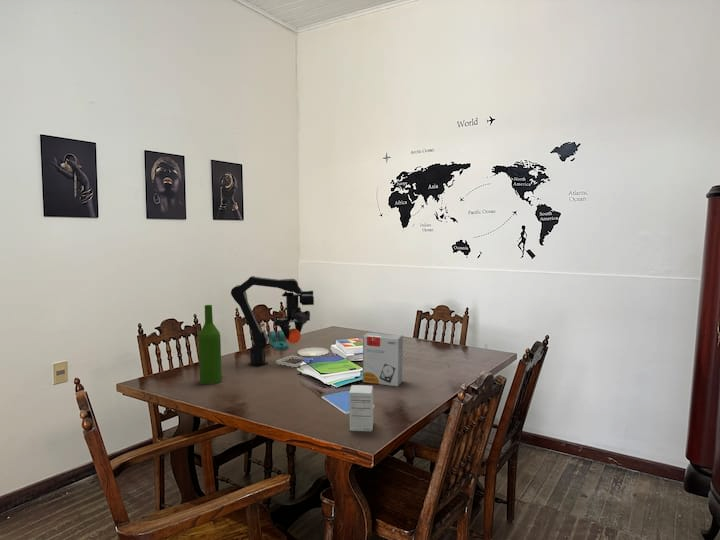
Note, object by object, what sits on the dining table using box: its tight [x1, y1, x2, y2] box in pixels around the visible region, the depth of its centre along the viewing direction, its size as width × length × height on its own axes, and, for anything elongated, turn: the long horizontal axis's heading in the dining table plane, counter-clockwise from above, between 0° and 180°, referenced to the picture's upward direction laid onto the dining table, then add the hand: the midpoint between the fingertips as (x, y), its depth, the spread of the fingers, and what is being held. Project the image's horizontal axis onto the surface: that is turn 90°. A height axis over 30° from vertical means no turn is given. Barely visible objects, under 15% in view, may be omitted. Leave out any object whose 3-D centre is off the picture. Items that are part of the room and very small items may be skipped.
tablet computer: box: [321, 390, 375, 415], centre depth 177 cm, size 19×13×1 cm, turn 31°
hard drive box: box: [362, 332, 404, 387], centre depth 199 cm, size 16×8×20 cm, turn 70°
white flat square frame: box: [275, 355, 303, 368], centre depth 229 cm, size 11×12×2 cm
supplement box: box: [349, 384, 374, 432], centre depth 154 cm, size 7×7×13 cm
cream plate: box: [297, 347, 330, 357], centre depth 247 cm, size 16×16×1 cm
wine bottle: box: [197, 304, 223, 385], centre depth 201 cm, size 9×9×32 cm
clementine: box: [286, 328, 302, 344], centre depth 228 cm, size 8×7×7 cm
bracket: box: [268, 329, 289, 351], centre depth 261 cm, size 18×7×8 cm, turn 24°
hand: (293, 337), depth 228 cm, fingers closed on clementine, 7 cm apart
